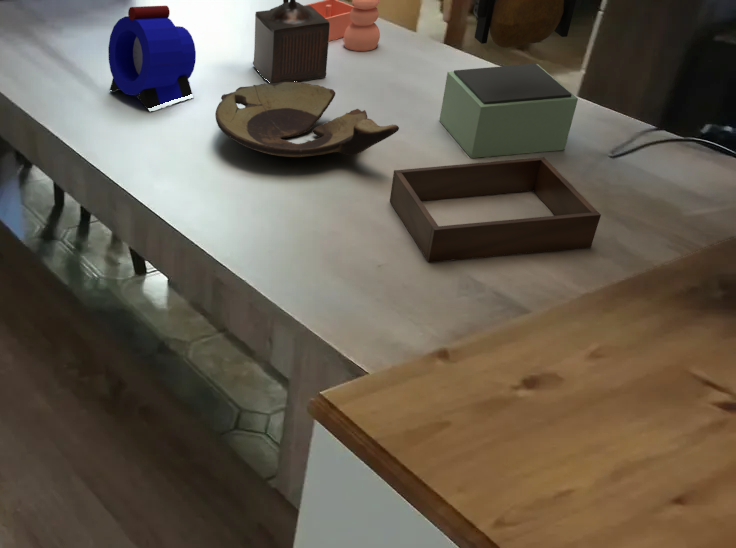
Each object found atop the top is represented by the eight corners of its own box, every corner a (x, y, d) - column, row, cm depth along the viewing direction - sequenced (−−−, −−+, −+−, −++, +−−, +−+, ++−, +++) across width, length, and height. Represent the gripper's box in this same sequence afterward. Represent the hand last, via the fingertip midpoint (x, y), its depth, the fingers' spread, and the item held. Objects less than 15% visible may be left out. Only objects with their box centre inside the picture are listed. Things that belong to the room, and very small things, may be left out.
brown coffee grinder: (305, 57, 170) (312, -51, 158) (327, 78, 161) (336, -35, 149) (223, 68, 168) (225, -41, 156) (242, 89, 160) (244, -24, 148)
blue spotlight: (106, 93, 162) (99, 1, 152) (162, 75, 166) (160, -14, 156) (146, 113, 154) (142, 18, 144) (204, 94, 159) (204, 1, 149)
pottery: (292, 30, 181) (295, -24, 174) (330, 20, 184) (335, -34, 177) (351, 56, 169) (357, -2, 162) (391, 45, 172) (399, -12, 165)
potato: (462, 41, 133) (474, -25, 127) (527, 26, 136) (542, -39, 130) (502, 58, 127) (517, -10, 121) (569, 42, 130) (587, -25, 125)
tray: (591, 247, 115) (601, 214, 112) (428, 262, 115) (434, 229, 112) (536, 187, 128) (544, 156, 125) (389, 201, 127) (393, 170, 124)
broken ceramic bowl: (310, 102, 154) (314, 54, 149) (417, 172, 133) (426, 119, 128) (189, 129, 148) (188, 81, 143) (280, 206, 127) (283, 153, 122)
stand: (564, 150, 136) (579, 95, 131) (470, 158, 135) (481, 104, 130) (526, 113, 146) (538, 61, 141) (439, 120, 146) (448, 69, 141)
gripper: (635, -157, 120) (588, 22, 134) (458, -143, 119) (431, 35, 134) (665, -146, 114) (613, 38, 129) (480, -132, 114) (448, 52, 128)
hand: (520, 37), depth 131 cm, fingers closed on potato, 11 cm apart
